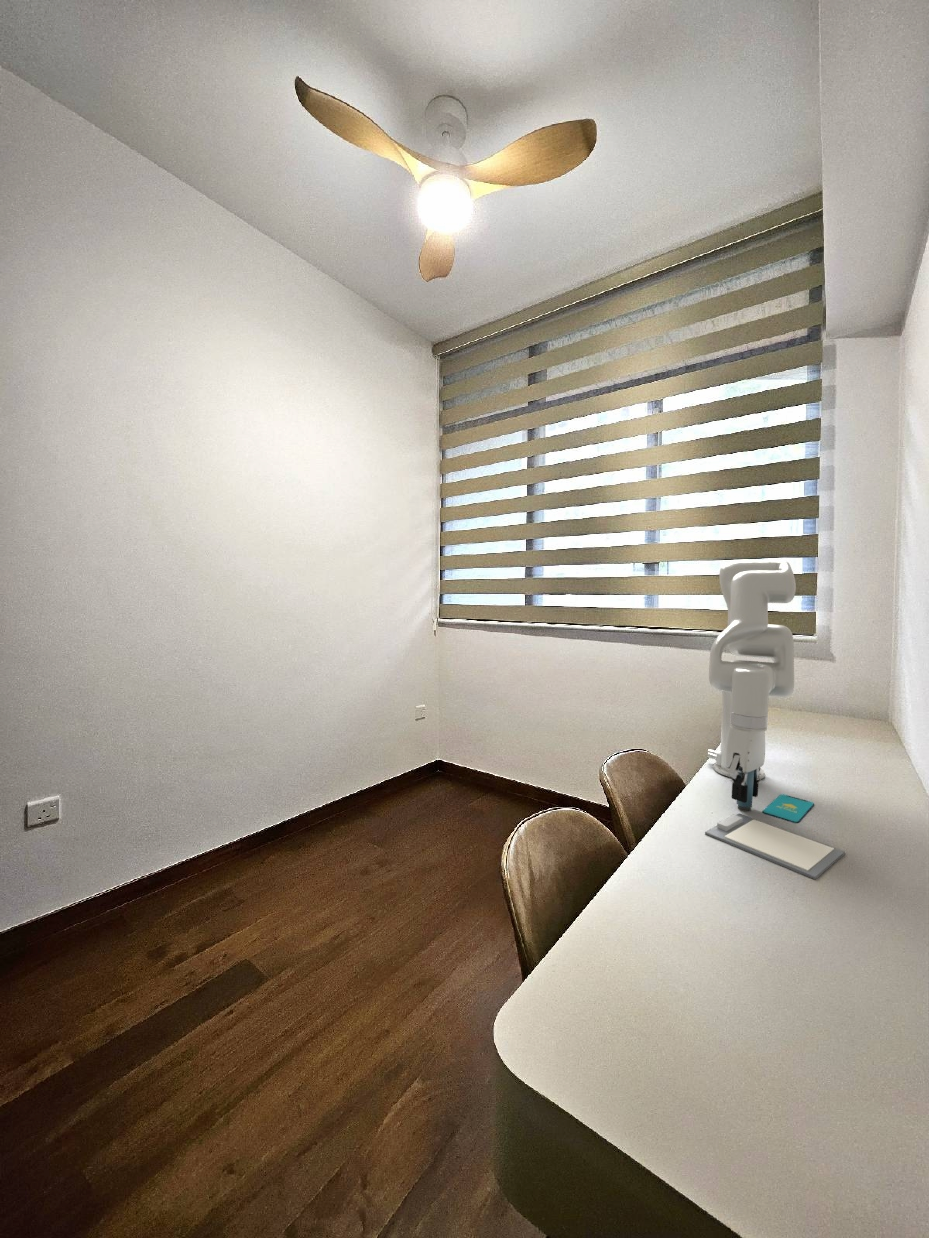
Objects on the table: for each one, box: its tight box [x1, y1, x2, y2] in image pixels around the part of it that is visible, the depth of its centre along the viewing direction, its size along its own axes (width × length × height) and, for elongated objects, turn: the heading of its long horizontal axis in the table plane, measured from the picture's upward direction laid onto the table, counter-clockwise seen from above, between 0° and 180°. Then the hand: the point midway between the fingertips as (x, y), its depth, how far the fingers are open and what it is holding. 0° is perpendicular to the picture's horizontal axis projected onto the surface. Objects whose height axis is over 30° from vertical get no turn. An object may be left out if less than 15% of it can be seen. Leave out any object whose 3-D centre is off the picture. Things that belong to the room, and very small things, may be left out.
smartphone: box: [762, 793, 815, 824], centre depth 118 cm, size 7×1×15 cm
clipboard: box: [704, 812, 846, 880], centre depth 101 cm, size 20×15×2 cm
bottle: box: [736, 768, 754, 812], centre depth 117 cm, size 3×3×11 cm
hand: (744, 796), depth 117 cm, fingers open, 4 cm apart
